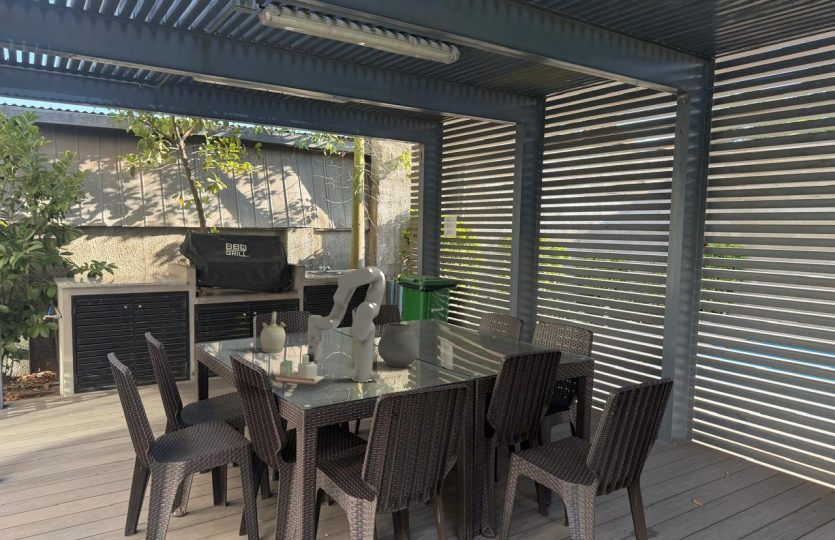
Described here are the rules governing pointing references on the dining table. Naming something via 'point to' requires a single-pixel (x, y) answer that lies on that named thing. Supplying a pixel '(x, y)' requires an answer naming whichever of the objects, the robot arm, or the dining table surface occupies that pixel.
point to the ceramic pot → (398, 345)
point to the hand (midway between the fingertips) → (313, 371)
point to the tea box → (286, 368)
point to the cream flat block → (298, 379)
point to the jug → (273, 336)
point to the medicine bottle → (307, 367)
